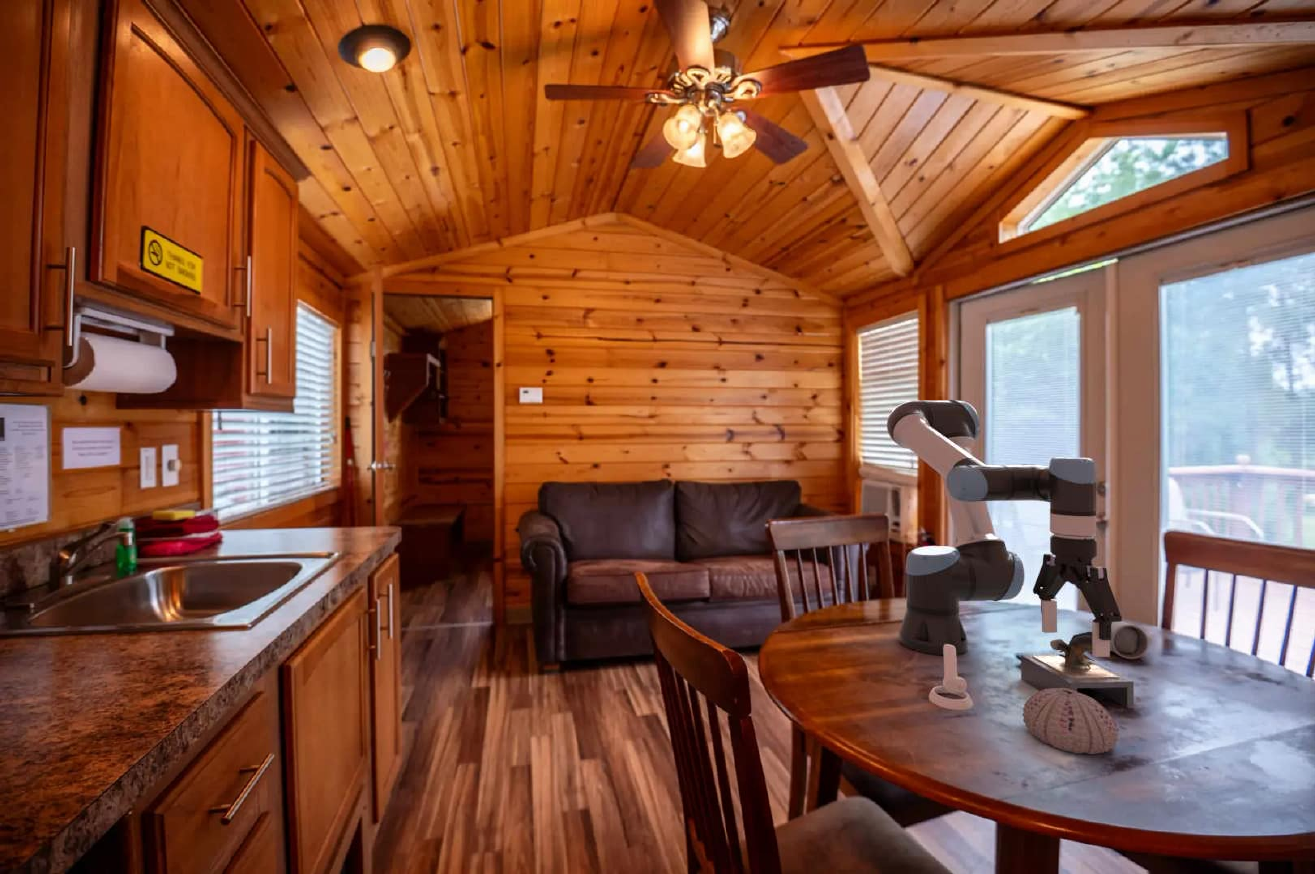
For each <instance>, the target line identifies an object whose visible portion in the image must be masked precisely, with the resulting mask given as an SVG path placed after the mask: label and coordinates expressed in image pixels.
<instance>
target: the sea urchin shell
mask: <svg viewBox="0 0 1315 874" xmlns="http://www.w3.org/2000/svg"><path fill="white" fill-rule="evenodd" d="M1022 710H1023V713H1022V717H1023V722H1024V725H1025V727H1026V728H1027V729H1028V731H1029V732H1030V733H1031V735H1032V736H1034V737H1035V738H1037V739H1039V740H1040V742H1044V743H1045V744H1047V745H1052V746H1053V748H1056V749H1060V750H1061V751H1066V752H1071V753H1073V754H1079V755H1080V754H1083V753H1085V754H1087V755H1089V754H1090V755H1096V754H1100V753H1102V754H1103V753H1105V752H1107V753H1108V752H1109V750H1111V749H1113V747H1115V746H1117V745H1116V743H1117V742H1119V739H1118V736H1119V733H1118V732H1119V730H1120V729H1119V728H1118V726H1117V725H1118V723H1117V722H1116V721H1115V719H1114V718H1113V716H1112V715H1111V713H1110V712H1108V710H1107V709H1106V708H1105V707H1104V706H1102V704H1100V703H1099V702H1098V701H1097V700H1096V699H1094V698H1092V697H1090V696H1089V695H1086V694H1084V693H1081V692H1078V691H1077V692H1076V691H1074V690H1071V689H1068V688H1052V689H1051V688H1050V689H1045V690H1042V691H1040V690H1039V691H1038V692H1036V693H1034V694H1033V695H1031V696H1030V697H1029V698H1028V700H1026V701H1025V702H1024V703H1023V708H1022Z"/></svg>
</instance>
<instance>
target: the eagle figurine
mask: <svg viewBox="0 0 1315 874" xmlns="http://www.w3.org/2000/svg"><path fill="white" fill-rule="evenodd" d="M1049 645H1050V647H1051V649H1052V650H1053V651H1059V653H1061V654H1062V653H1063V652H1064V653H1063V654H1065V656H1064V655H1061V654H1059V653H1058V654H1059V656H1061V657H1063V658H1065V668H1066V667H1067V666H1069V665H1070V664H1071V663H1072V661H1073V659H1074V658H1075V659H1076V660H1078V661H1080V662H1082V663H1083V664H1085V665H1086V666H1088V667H1089V668H1091V667H1090V663H1089V662H1088V660H1090V661H1092V662H1095V661H1096V660H1094V659H1092V658H1090V657H1088V655H1087V654H1085V653H1086V652H1090V651H1092V631H1086V632H1082V633H1078V634H1073V635H1072V637H1071V639H1070V641H1068V643H1066V642H1065V641H1064V640H1063V639H1061V638H1060V639H1059V638H1058V639H1053V640H1051V641H1050V642H1049ZM1087 659H1088V660H1087Z"/></svg>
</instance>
